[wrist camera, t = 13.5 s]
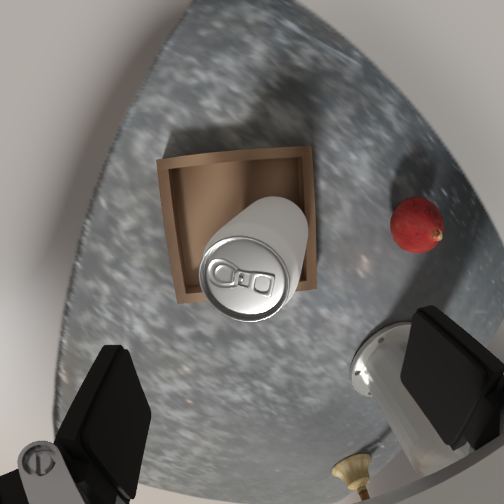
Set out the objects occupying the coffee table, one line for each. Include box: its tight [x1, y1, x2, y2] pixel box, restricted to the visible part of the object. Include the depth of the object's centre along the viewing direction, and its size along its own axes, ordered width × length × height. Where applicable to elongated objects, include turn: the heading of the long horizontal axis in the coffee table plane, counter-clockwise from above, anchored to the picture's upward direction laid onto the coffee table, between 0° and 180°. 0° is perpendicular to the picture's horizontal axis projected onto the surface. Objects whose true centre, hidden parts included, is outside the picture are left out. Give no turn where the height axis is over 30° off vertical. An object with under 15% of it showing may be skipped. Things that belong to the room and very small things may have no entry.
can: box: [199, 196, 308, 322], centre depth 23 cm, size 6×6×12 cm
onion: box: [390, 197, 444, 253], centre depth 28 cm, size 6×6×8 cm
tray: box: [156, 146, 317, 304], centre depth 29 cm, size 14×14×2 cm
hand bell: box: [332, 453, 371, 501], centre depth 38 cm, size 8×8×16 cm
